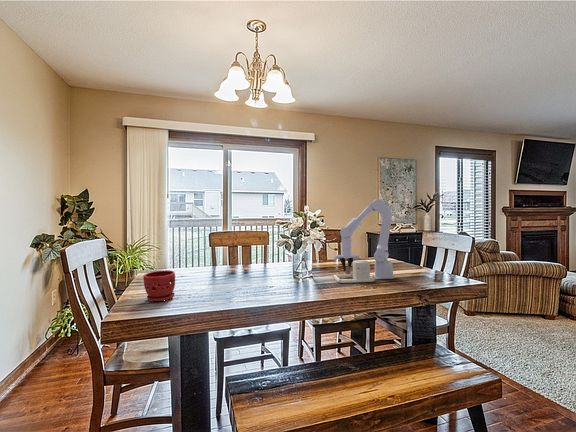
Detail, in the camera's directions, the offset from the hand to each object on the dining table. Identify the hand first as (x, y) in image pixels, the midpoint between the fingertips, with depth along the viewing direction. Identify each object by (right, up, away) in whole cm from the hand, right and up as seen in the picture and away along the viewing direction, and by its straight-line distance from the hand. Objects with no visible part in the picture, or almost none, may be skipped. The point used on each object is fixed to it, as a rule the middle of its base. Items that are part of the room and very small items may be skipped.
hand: (346, 270), depth 192 cm
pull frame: (+1, -2, -11) cm, 11 cm away
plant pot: (-92, -5, -47) cm, 103 cm away
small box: (+5, -3, -16) cm, 17 cm away
